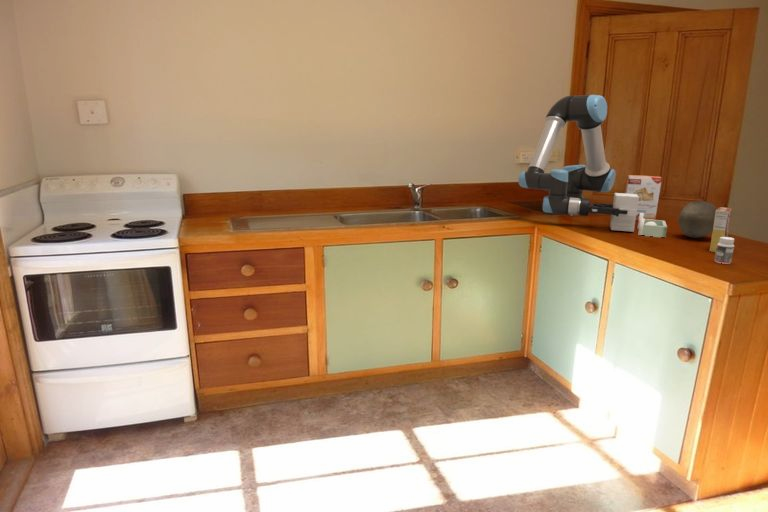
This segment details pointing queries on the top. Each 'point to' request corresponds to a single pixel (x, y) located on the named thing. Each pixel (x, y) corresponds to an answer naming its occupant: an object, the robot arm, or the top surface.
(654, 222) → the ball
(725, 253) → the pill bottle
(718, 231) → the candy box
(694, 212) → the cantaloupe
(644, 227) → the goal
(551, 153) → the robot arm
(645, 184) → the cracker box
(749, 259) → the top surface
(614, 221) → the supplement box
